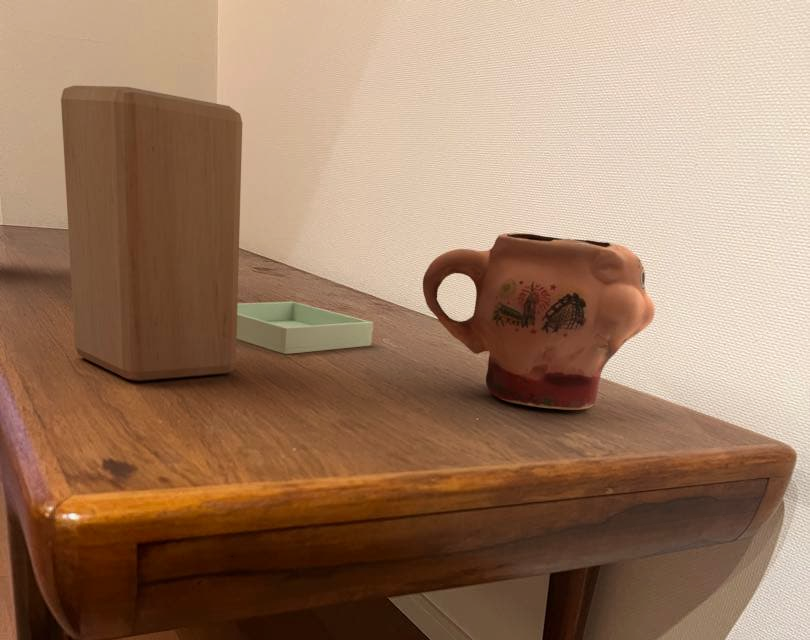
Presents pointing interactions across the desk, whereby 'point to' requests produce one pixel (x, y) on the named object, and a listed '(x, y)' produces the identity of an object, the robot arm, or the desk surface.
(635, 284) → the terracotta mug
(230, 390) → the desk surface
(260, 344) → the shallow tray
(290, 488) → the desk surface
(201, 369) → the block
